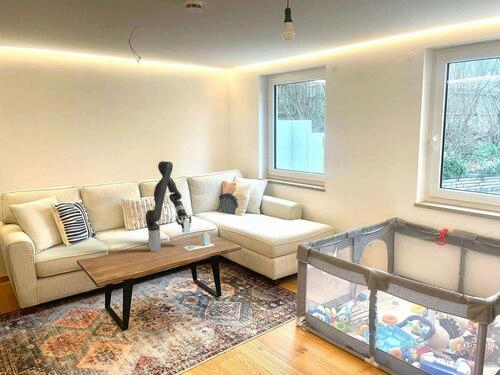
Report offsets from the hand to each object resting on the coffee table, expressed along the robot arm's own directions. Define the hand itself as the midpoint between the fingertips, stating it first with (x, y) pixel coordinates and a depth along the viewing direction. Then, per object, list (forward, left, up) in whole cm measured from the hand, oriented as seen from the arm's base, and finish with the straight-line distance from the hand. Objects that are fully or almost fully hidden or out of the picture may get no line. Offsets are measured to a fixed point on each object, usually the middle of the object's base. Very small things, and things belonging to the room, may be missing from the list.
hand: (186, 227), depth 318 cm
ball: (+13, -9, -6) cm, 17 cm away
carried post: (0, +2, -4) cm, 5 cm away
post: (+13, -9, -15) cm, 22 cm away
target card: (+7, -9, -16) cm, 19 cm away
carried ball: (0, +2, +5) cm, 6 cm away
